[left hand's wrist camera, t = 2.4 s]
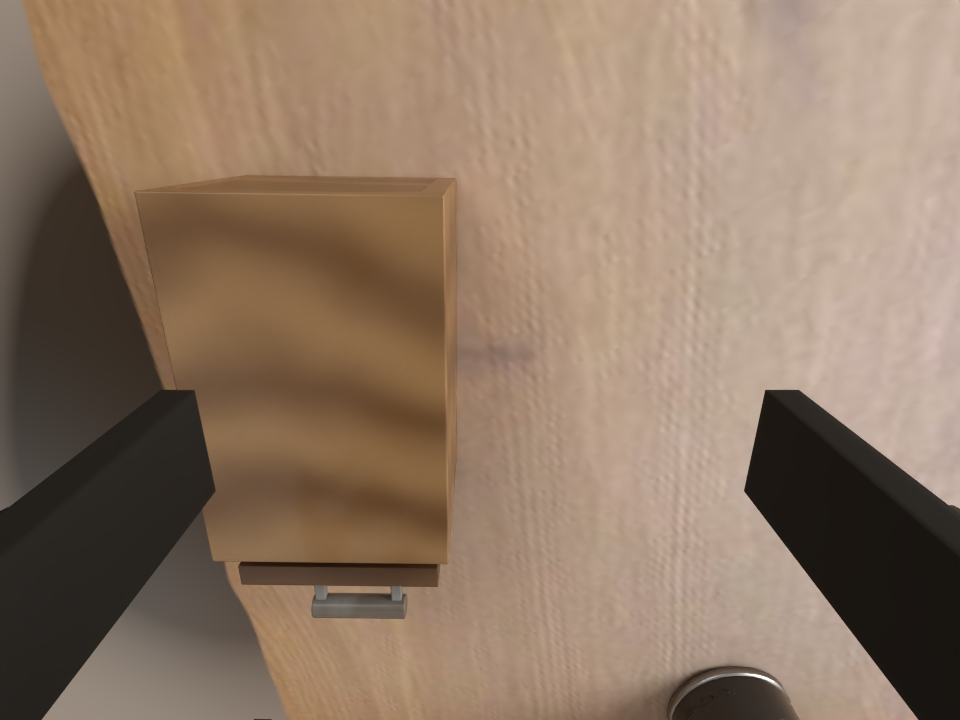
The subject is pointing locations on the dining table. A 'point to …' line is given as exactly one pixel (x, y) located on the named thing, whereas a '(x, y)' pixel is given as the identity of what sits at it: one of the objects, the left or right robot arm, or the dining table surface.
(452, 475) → the cabinet
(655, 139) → the dining table surface
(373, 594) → the drawer
